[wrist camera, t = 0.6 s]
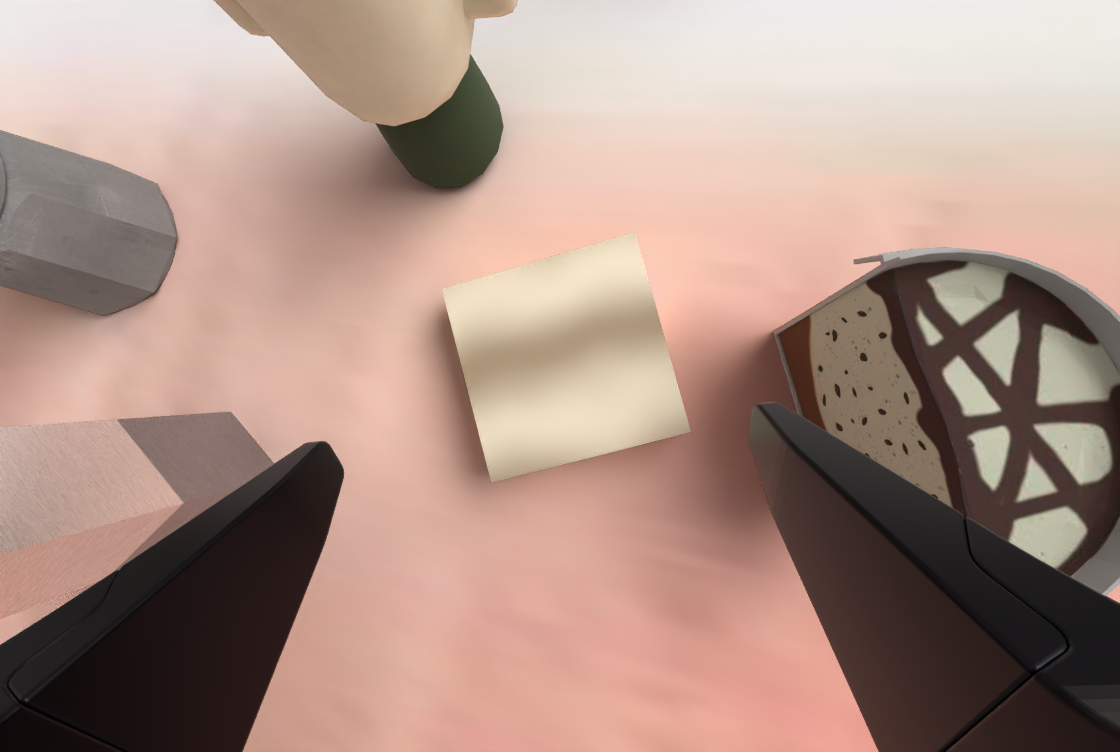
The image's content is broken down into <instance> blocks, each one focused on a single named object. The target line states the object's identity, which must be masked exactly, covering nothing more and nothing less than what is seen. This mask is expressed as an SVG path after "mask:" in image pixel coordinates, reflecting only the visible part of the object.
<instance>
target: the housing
mask: <svg viewBox="0 0 1120 752" xmlns="http://www.w3.org/2000/svg"><path fill="white" fill-rule="evenodd" d="M273 464H274V463H273V462H272V461H271V459H270V458H269V457H268V456H267V455H266V453H265V452H264V451H263V450H262V449H261V447H260V446H259V445H258V444H257V443H256V441H255V440H254V439H253V438H252V437H251V435H250V434H249V433H248V432H247V431H246V429H245V428H244V427H243V426H242V425H241V423H240V422H239V421H238V420H237V419H236V417H235V416H234V415H233V414H232V413H231V412H221V413H206V414H192V415H177V416H162V417H147V418H132V419H117V420H103V421H88V422H73V423H58V424H43V425H28V426H13V427H0V619H2V618H5V617H7V616H10V615H12V614H15V613H18V612H20V611H23V610H25V609H28V608H30V607H33V606H36V605H38V604H41V603H43V602H46V601H49V600H51V599H54V598H56V597H59V596H61V595H64V594H67V593H69V592H72V591H74V590H77V589H80V588H82V587H85V586H87V585H90V584H92V583H95V582H98V581H100V580H102V579H103V578H105V577H106V576H108V575H109V574H111V573H112V572H114V571H115V570H120V568H121V567H122V566H123V565H124V564H126V563H127V562H129V561H130V560H132V559H133V558H135V557H136V556H138V555H139V554H141V553H142V552H144V551H145V550H147V549H148V548H150V547H151V546H153V545H154V544H156V543H157V542H159V541H160V540H162V539H163V538H165V537H166V536H168V535H169V534H171V533H172V532H174V531H175V530H177V529H178V528H180V527H181V526H183V525H184V524H185V523H187V522H188V521H190V520H191V519H193V518H194V517H196V516H197V515H199V514H200V513H202V512H203V511H205V510H206V509H208V508H209V507H211V506H212V505H214V504H215V503H217V502H218V501H220V500H221V499H223V498H224V497H226V496H227V495H229V494H230V493H232V492H233V491H235V490H236V489H238V488H239V487H241V486H242V485H244V484H245V483H247V482H248V481H250V480H251V479H253V478H254V477H256V476H257V475H258V474H260V473H261V472H263V471H264V470H266V469H267V468H269V467H270V466H272V465H273Z"/></svg>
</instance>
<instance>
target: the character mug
mask: <svg viewBox="0 0 1120 752" xmlns="http://www.w3.org/2000/svg"><path fill="white" fill-rule="evenodd" d="M214 1H215V2H216V3H217V4H218V5H219V6H220V7H221V8H222V9H223V10H224V11H225V12H226V13H227V14H228V15H229V16H230V17H231V18H232V19H233V20H234V21H235V22H236V23H237V24H238V25H239V26H241V27H242V28H243V29H245V30H246V31H248V32H249V33H250V34H253V35H258V36H270V37H271V38H272V39H273V40H274V41H275V42H276V43H277V44H278V45H279V46H280V47H281V48H282V49H283V51H284V52H285V53H286V54H287V55H288V56H289V57H290V58H291V59H292V60H293V61H294V62H295V63H296V64H297V65H298V66H299V68H300V69H301V70H302V71H303V72H304V73H305V74H306V75H307V76H308V77H309V78H310V79H311V80H312V81H313V82H314V83H315V84H316V86H317V87H318V88H319V89H320V90H321V91H322V92H323V93H324V94H325V95H326V96H327V97H328V98H330V99H331V100H333V101H334V102H336V103H337V104H339V105H340V106H342V107H343V108H345V109H346V110H348V111H349V112H351V113H352V114H354V115H355V116H357V117H358V118H360V119H361V120H363V121H366V122H372V123H376V125H377V126H378V128H379V130H380V132H381V133H382V135H383V137H384V138H385V140H386V141H387V143H388V144H389V146H390V147H391V149H392V150H393V152H394V153H395V155H396V156H397V158H398V159H399V160H400V161H401V163H402V164H403V165H404V166H405V167H406V169H407V170H408V171H409V172H410V174H411V175H412V176H413V177H414V178H416V179H418V180H420V181H423V182H425V183H427V184H429V185H431V186H433V187H435V188H444V187H461V186H463V185H464V184H466V183H468V182H469V181H471V180H473V179H474V178H476V177H478V176H479V175H481V174H483V172H484V171H485V169H486V168H487V167H488V165H489V164H490V162H491V161H492V159H493V158H494V156H495V155H496V154H497V152H498V148H499V144H500V140H501V135H502V131H503V122H502V117H501V113H500V108H499V104H498V102H497V100H496V98H495V96H494V94H493V92H492V90H491V88H490V86H489V84H488V82H487V81H486V79H485V77H484V76H483V74H482V72H481V71H480V69H479V67H478V66H477V64H476V62H475V61H474V59H473V57H472V56H471V54H470V50H471V43H472V36H473V28H474V19H477V18H488V17H500V16H504V15H507V14H509V13H511V12H513V10H514V9H515V7H516V5H517V0H214Z"/></svg>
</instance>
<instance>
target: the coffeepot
mask: <svg viewBox="0 0 1120 752" xmlns="http://www.w3.org/2000/svg"><path fill="white" fill-rule="evenodd" d="M176 239H177V235H176V225H175V221H174V217H173V213H172V211H171V209H170V207H169V205H168V202H167V201H166V199H165V198H164V197H163V195H162V194H161V192H160V189H159V186H158V184H157V183H154V182H152V181H149V180H147V179H145V178H142V177H140V176H137V175H135V174H133V173H130V172H128V171H125V170H123V169H121V168H118V167H116V166H113V165H111V164H108V163H105V162H102V161H98V160H95V159H92V158H89V157H86V156H82V155H79V154H76V153H73V152H69V151H66V150H63V149H60V148H56V147H53V146H50V145H47V144H43V143H40V142H37V141H34V140H31V139H27V138H24V137H21V136H18V135H14V134H11V133H8V132H5V131H1V130H0V286H3V287H6V288H10V289H13V290H17V291H20V292H24V293H27V294H31V295H34V296H38V297H41V298H44V299H48V300H51V301H55V302H58V303H62V304H65V305H69V306H72V307H76V308H79V309H83V310H86V311H90V312H93V313H96V314H100V315H103V316H105V315H108V314H111V313H114V312H117V311H119V310H122V309H125V308H128V307H131V306H134V305H136V304H138V303H139V302H141V301H143V300H144V299H146V298H147V297H148V296H150V295H151V294H153V293H155V291H156V290H157V288H158V287H159V286H160V284H161V283H162V281H163V280H164V279H165V277H166V275H167V273H168V271H169V269H170V267H171V264H172V261H173V258H174V254H175V248H176Z"/></svg>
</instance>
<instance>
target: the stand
mask: <svg viewBox="0 0 1120 752" xmlns="http://www.w3.org/2000/svg"><path fill="white" fill-rule="evenodd" d="M442 292H443V296H444V300H445V304H446V308H447V312H448V315H449V319H450V323H451V327H452V331H453V335H454V339H455V343H456V347H457V351H458V355H459V358H460V362H461V366H462V370H463V374H464V378H465V382H466V386H467V390H468V394H469V398H470V401H471V405H472V409H473V413H474V417H475V421H476V425H477V429H478V433H479V437H480V441H481V444H482V448H483V452H484V456H485V460H486V464H487V468H488V472H489V476H490V480H491V483H492V482H496V481H500V480H504V479H508V478H512V477H516V476H520V475H524V474H528V473H531V472H535V471H539V470H543V469H547V468H551V467H555V466H559V465H563V464H567V463H571V462H575V461H579V460H583V459H587V458H591V457H595V456H599V455H603V454H607V453H610V452H614V451H618V450H622V449H626V448H630V447H634V446H638V445H642V444H646V443H650V442H654V441H658V440H662V439H666V438H670V437H674V436H678V435H682V434H685V433H689V432H691V430H690V426H689V423H688V419H687V416H686V412H685V408H684V405H683V401H682V398H681V394H680V391H679V387H678V384H677V380H676V376H675V373H674V369H673V366H672V362H671V359H670V355H669V351H668V348H667V344H666V341H665V337H664V334H663V330H662V327H661V323H660V319H659V316H658V312H657V309H656V305H655V302H654V298H653V294H652V291H651V287H650V284H649V280H648V277H647V273H646V270H645V266H644V262H643V259H642V255H641V252H640V248H639V245H638V241H637V237H636V234H635V232H634V233H630V234H627V235H624V236H620V237H617V238H613V239H610V240H607V241H603V242H600V243H597V244H593V245H590V246H586V247H583V248H580V249H576V250H573V251H570V252H566V253H563V254H559V255H556V256H553V257H549V258H546V259H543V260H539V261H536V262H532V263H529V264H526V265H522V266H519V267H516V268H512V269H509V270H505V271H502V272H499V273H495V274H492V275H489V276H485V277H482V278H478V279H475V280H472V281H468V282H465V283H462V284H458V285H455V286H451V287H448V288H445V289H442Z"/></svg>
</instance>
